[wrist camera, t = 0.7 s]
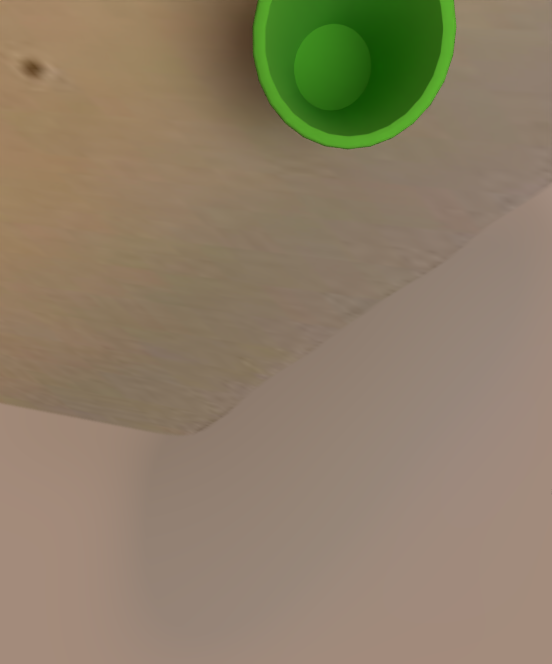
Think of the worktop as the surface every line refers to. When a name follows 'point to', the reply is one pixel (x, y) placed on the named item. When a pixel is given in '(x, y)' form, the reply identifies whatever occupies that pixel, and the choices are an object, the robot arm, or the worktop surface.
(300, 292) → the worktop surface
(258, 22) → the cup
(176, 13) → the worktop surface
